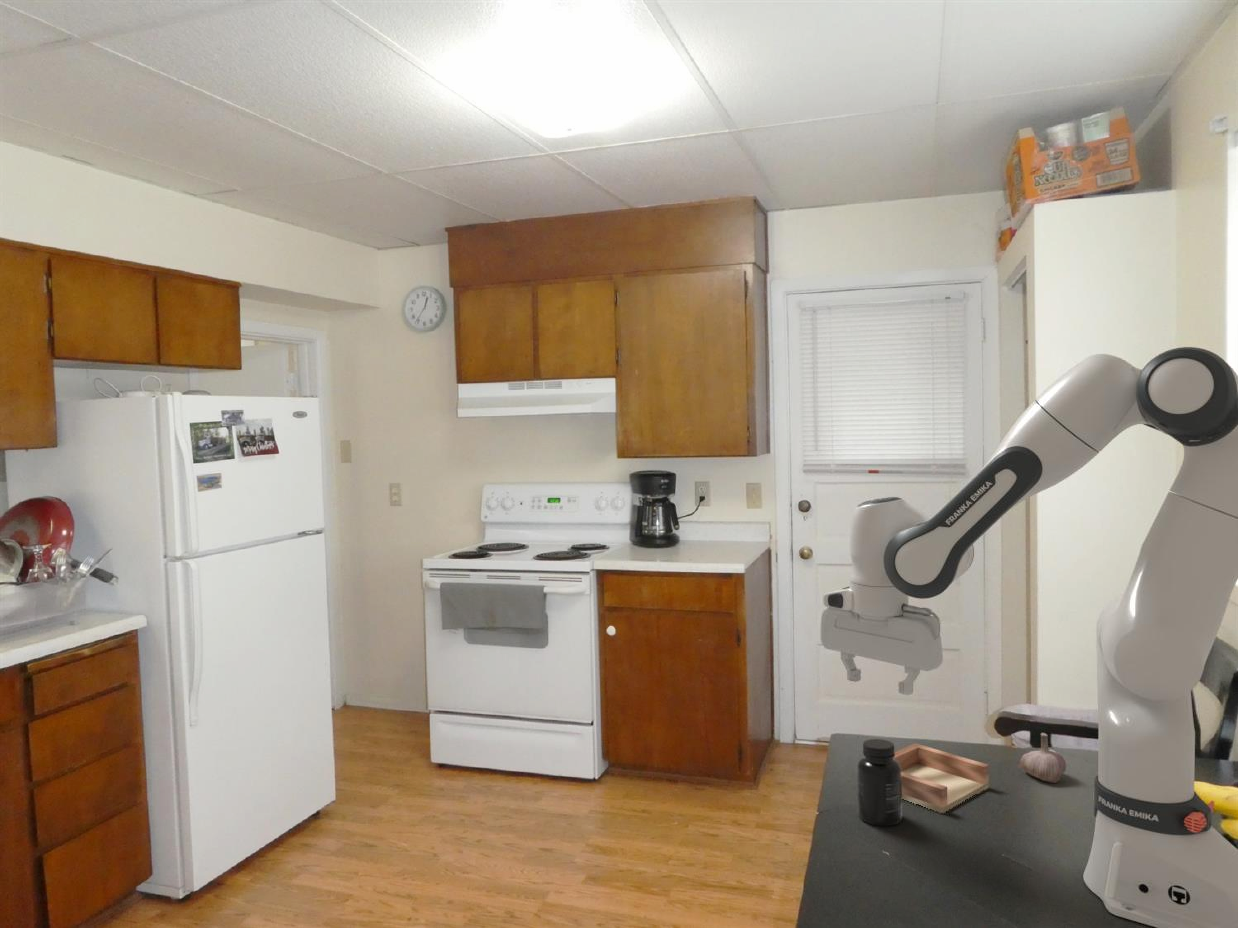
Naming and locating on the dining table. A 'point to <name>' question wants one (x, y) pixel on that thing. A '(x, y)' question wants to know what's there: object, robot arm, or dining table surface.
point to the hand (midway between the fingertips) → (879, 686)
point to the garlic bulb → (1044, 762)
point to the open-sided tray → (939, 777)
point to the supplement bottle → (879, 784)
